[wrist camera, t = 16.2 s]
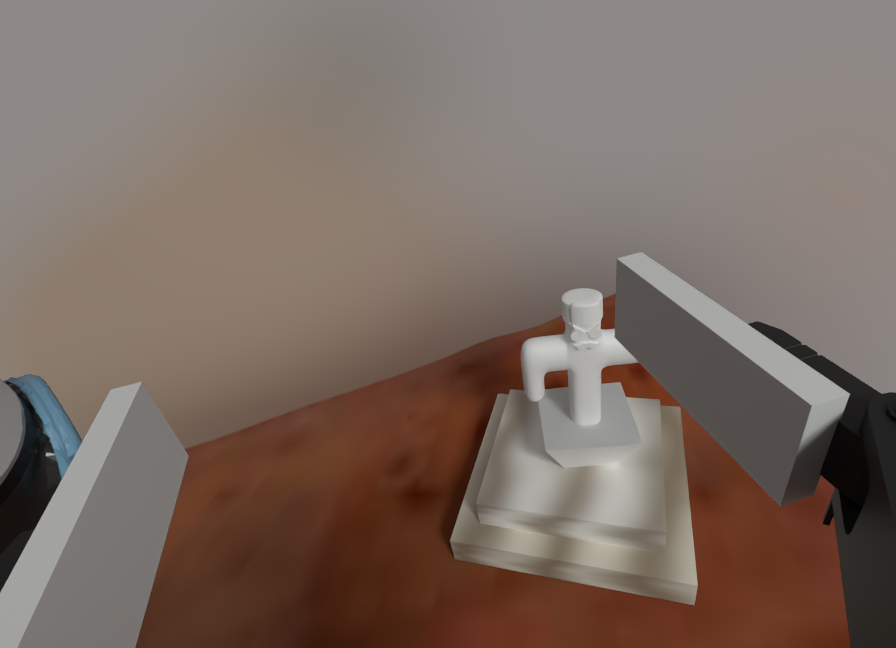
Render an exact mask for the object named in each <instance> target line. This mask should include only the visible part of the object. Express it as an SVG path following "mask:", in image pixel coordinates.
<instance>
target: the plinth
mask: <svg viewBox="0 0 896 648" xmlns="http://www.w3.org/2000/svg"><path fill="white" fill-rule="evenodd" d="M626 399H627V402H628V404H629V407H630V410H631V412H632V415H633V418H634V420H635V423H636V426H637V428H638V431H639V434H640V437H641V439H642V442H643V444H642V445H641V446H640V447H639V448H637V449H636V450H635V451H634V452H632V453H631V454H630V455H629V456H627V457H626V458H625V459H624V460H622V461H621V462H620V463H619V464H610V465H596V466H583V467H569V468H564V467H563V466H562V465H560V464H559V463H558V462H557V461H556V460H555V459H554V458H553V457H551V456H550V455H549V454H548V453H547V452H546V450H545V443H544V437H543V430H542V423H541V417H540V410H539V404H538V401H537V402H533V401H530V400H529V399H528V398H527V397H526V395H525V392H524V390H514V389H510V392H509V394H498V395H497V398H496V402H495V405H494V408H493V411H492V414H491V417H490V420H489V423H488V426H487V429H486V432H485V435H484V438H483V441H482V444H481V447H480V450H479V453H478V457H477V460H476V463H475V466H474V469H473V472H472V475H471V478H470V481H469V484H468V487H467V490H466V493H465V496H464V499H463V502H462V505H461V508H460V512H459V515H458V518H457V521H456V524H455V527H454V530H453V533H452V536H451V539H450V543H451V547H452V551H453V554H454V558H455V559H457V560H462V561H467V562H472V563H478V564H483V565H488V566H493V567H498V568H503V569H509V570H514V571H519V572H524V573H529V574H535V575H540V576H545V577H550V578H555V579H560V580H566V581H571V582H576V583H581V584H586V585H592V586H597V587H602V588H607V589H612V590H617V591H623V592H628V593H633V594H638V595H643V596H648V597H654V598H659V599H664V600H669V601H674V602H680V603H685V604H690V605H694V604H695V598H696V592H697V586H698V584H697V574H696V564H695V554H694V544H693V534H692V524H691V513H690V503H689V493H688V483H687V473H686V463H685V453H684V443H683V433H682V423H681V412H680V407H672V406H660V400H656V399H642V398H628V397H626Z"/></svg>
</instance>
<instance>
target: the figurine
mask: <svg viewBox="0 0 896 648" xmlns="http://www.w3.org/2000/svg"><path fill="white" fill-rule="evenodd" d="M561 303H562V318H563V320H564V321H565V327H566V331H565V333H564V334H562V335H553V336H543V337H535V338H530V339H528V340H526V341H525V342H524V343H523V345H522V349H521V367H522V376H523V385H524V392H525V395H526V397H527V398H528V399H529V400H530V401H533V402H537V401H538V404H539V410H540V417H541V423H542V430H543V437H544V443H545V450H546V452H547V453H548V454H549V455H550V456H551V457H553V458H554V459H555V460H556V461H557V462H558V463H559V464H560V465H562V466H563V467H564V468H569V467H583V466H596V465H610V464H619V463H620V462H621V461H622V460H624V459H625V458H626V457H627V456H629V455H630V454H631V453H632V452H634V451H635V450H636V449H637V448H639V447H640V446H641V445H642V444H643V442H642V439H641V437H640V434H639V431H638V428H637V426H636V423H635V420H634V418H633V415H632V412H631V410H630V407H629V404H628V402H627V399H626V396H625V394H624V391H623V388H622V386H621V383H620V382H618V383H608V384H601V370H602V369H603V368H604V367H606V366H610V365H620V364H630V363H637V362H638V361H637V360H636V359H635V358H634V357H633V356H632V355H631V354H630V353H629V352H628V351H627V350H626V349H625V348H624V347H623V346H622V345H621V343H620V342H619V341H618V340H617V339H616V338H615V329H608V330H602V329H601V319H602V317H603V297H602V294H601V293H600V292H598V291H597V290H593V289H587V288H580V289H574V290H570V291H568V292H566V293H564V294H563V295H562V297H561ZM559 370H568V387H565V388H555V389H545V388H544V375H545V374H546V373H547V372H549V371H559Z"/></svg>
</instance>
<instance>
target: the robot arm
mask: <svg viewBox="0 0 896 648" xmlns="http://www.w3.org/2000/svg"><path fill="white" fill-rule="evenodd" d="M616 273H617V275H616V305H615V338H616V339H617V340H618V341H619V342H620V343H621V345H622V346H623V347H624V348H625V349H626V350H627V351H628V352H629V353H630V354H631V355H632V356H633V357H634V358H635V359H636V360H637V361H638V362H639V363H640V364H641V365H642V366H643V367H644V368H645V369H646V370H647V371H648V372H649V373H650V374H651V375H652V376H653V377H654V378H655V379H656V380H657V381H658V382H659V383H660V384H661V385H662V386H663V387H664V388H665V389H666V390H667V391H668V392H669V393H670V394H671V395H672V396H673V397H674V398H675V399H676V401H677V402H678V403H679V404H680V405H681V406H682V407H683V408H684V409H685V410H686V411H687V412H688V413H689V414H690V415H691V416H692V417H693V418H694V419H695V420H696V421H697V422H698V423H699V424H700V425H701V426H702V427H703V428H704V429H705V430H706V431H707V432H708V433H709V434H710V435H711V436H712V437H713V438H714V439H715V440H716V441H717V442H718V443H719V444H720V445H721V446H722V447H723V448H724V449H725V450H726V451H727V452H728V453H729V454H730V455H731V456H732V458H733V459H734V460H735V461H736V462H737V463H738V464H739V465H740V466H741V467H742V468H743V469H744V470H745V471H746V472H747V473H748V474H749V475H750V476H751V477H752V478H753V479H754V480H755V481H756V482H757V483H758V484H759V485H760V486H761V487H762V488H763V489H764V490H765V491H766V492H767V493H768V494H769V495H770V496H771V497H772V498H773V499H774V500H775V501H776V502H777V503H778V504H779V505H780V506H783V505H786V504H789V503H792V502H795V501H798V500H801V499H804V498H807V497H810V496H813V495H814V492H815V489H816V487H817V484H818V481H819V478H820V476H821V475H822V476H823V477H824V478H825V479H826V480H827V481H829V482H830V483H831V484H832V485H833V486H834V487H835V489H834V492H833V494H832V497H831V500H830V502H829V505H828V507H827V510H826V512H825V515H824V519H823V524H825V525H830V522H831V520H832V517H833V516H834V520H835V528H836V535H837V543H838V551H839V559H840V567H841V574H842V582H843V590H844V598H845V606H846V613H847V621H848V629H849V637H850V645H851V648H896V393H886V394H881V393H879V392H878V391H876V390H875V389H873V388H872V387H870V386H868V385H867V384H865V383H864V382H862V381H860V380H859V379H858V378H856V377H854V376H853V375H851V374H850V373H848V372H847V371H845V370H844V369H842V368H840V367H839V366H837V365H836V364H834V363H833V362H831V361H830V360H828V359H826V358H825V357H823V356H822V355H821V356H818V354H817V352H815V351H814V350H812V349H811V348H809V347H808V346H806V345H802V344H801V342H800V341H798V340H797V339H795V338H794V337H792V336H790V335H789V334H787V333H786V332H784V331H783V330H780V329H778V328H775V327H772V326H769V325H767V324H764V323H761V322H753V323H750V324H746V323H745V322H743V321H742V320H740V319H739V318H738V317H736V316H735V315H733V314H732V313H730V312H728V311H727V310H726V309H724V308H723V307H721V306H720V305H718V304H717V303H715V302H714V301H713V300H711V299H710V298H708V297H706V296H705V295H704V294H702V293H701V292H699V291H698V290H696V289H695V288H693V287H692V286H690V285H689V284H687V283H686V282H685V281H683V280H681V279H680V278H679V277H677V276H676V275H674V274H673V273H671V272H670V271H668V270H667V269H665V268H664V267H662V266H661V265H659V264H658V263H656V262H655V261H653V260H652V259H651V258H649V257H648V256H646V255H645V254H643V253H641V252H640V253H636V254H632V255H629V256H625V257H621V258H617V270H616ZM188 457H189V456H188V454H187V453H186V451H185V449H184V448H183V446H182V445H181V443H180V441H179V440H178V438H177V437H176V435H175V433H174V432H173V430H172V429H171V427H170V425H169V424H168V422H167V421H166V419H165V418H164V416H163V414H162V413H161V411H160V409H159V408H158V406H157V405H156V403H155V401H154V400H153V398H152V397H151V395H150V394H149V392H148V390H147V389H146V387H145V386H144V384H143V382H138V383H134V384H131V385H126V386H123V387H118V388H115V389H111V390H110V392H109V394H108V396H107V397H106V399H105V401H104V403H103V405H102V407H101V409H100V410H99V412H98V414H97V416H96V418H95V419H94V421H93V423H92V425H91V427H90V429H89V431H88V432H87V434H86V436H85V438H84V440H83V442H82V440H81V438H80V436H79V434H78V432H77V431H76V429H75V427H74V425H73V424H72V422H71V420H70V419H69V417H68V415H67V414H66V412H65V411H64V409H63V408H62V406H61V404H60V403H59V401H58V399H57V398H56V396H55V395H54V394H53V392H52V391H51V389H50V387H49V386H48V385H47V383H46V382H45V381H44V380H43V379H42V378H40V377H39V376H35V375H24V376H22V377H19V378H10V379H8V380H5V381H2V380H0V648H135V647H136V643H137V640H138V636H139V632H140V629H141V625H142V622H143V618H144V615H145V611H146V607H147V604H148V600H149V597H150V593H151V589H152V586H153V582H154V579H155V575H156V571H157V568H158V564H159V561H160V557H161V554H162V550H163V546H164V543H165V539H166V536H167V532H168V528H169V525H170V521H171V518H172V514H173V510H174V507H175V503H176V500H177V496H178V493H179V489H180V485H181V482H182V478H183V475H184V471H185V467H186V464H187V460H188Z"/></svg>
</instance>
